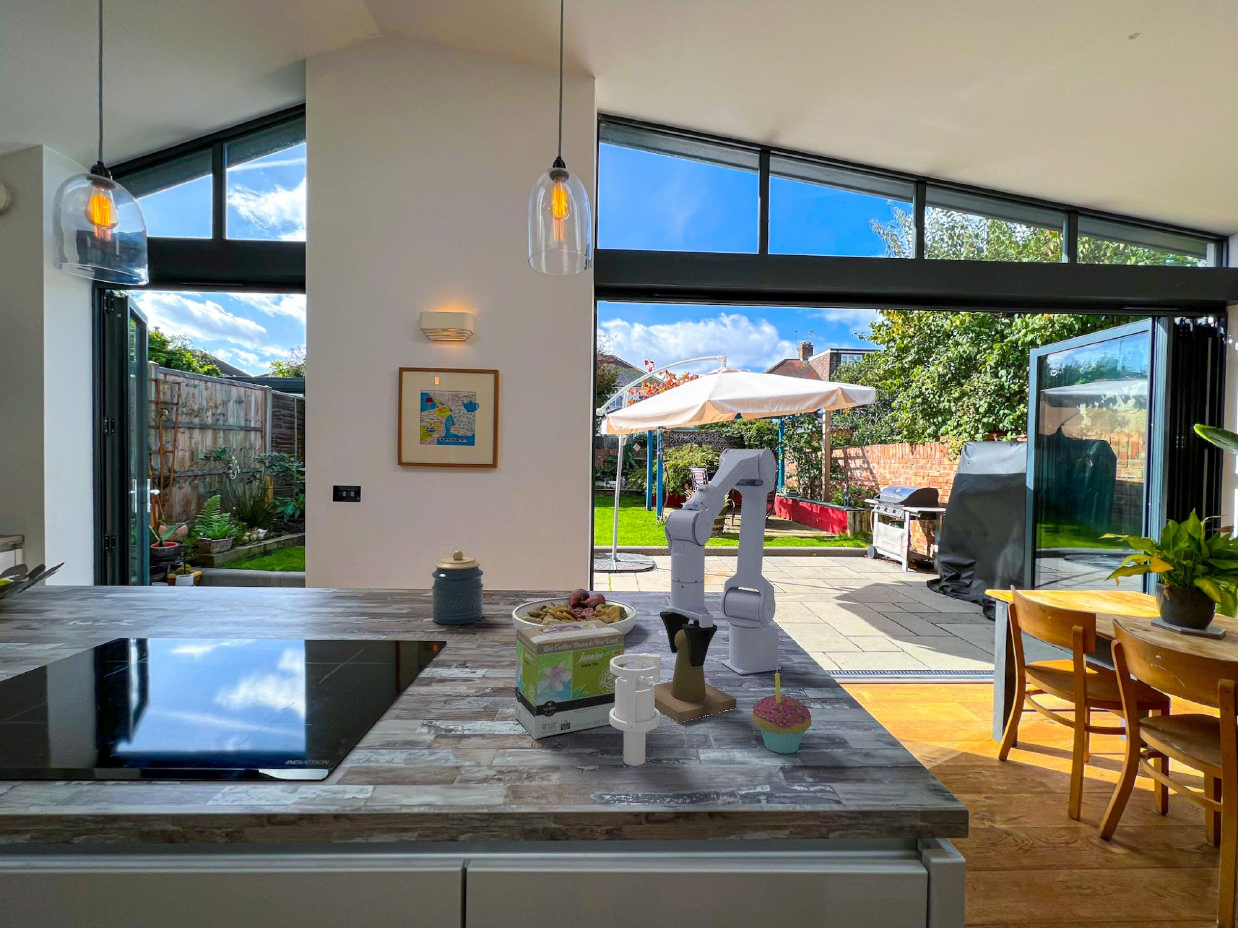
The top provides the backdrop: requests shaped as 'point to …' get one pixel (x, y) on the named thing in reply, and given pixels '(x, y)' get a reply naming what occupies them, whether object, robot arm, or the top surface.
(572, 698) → the tea box
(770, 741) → the cupcake
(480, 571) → the canister
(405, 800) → the top surface
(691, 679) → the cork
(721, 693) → the walnut board
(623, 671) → the white stepped hollow cylinder
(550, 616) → the bowl
